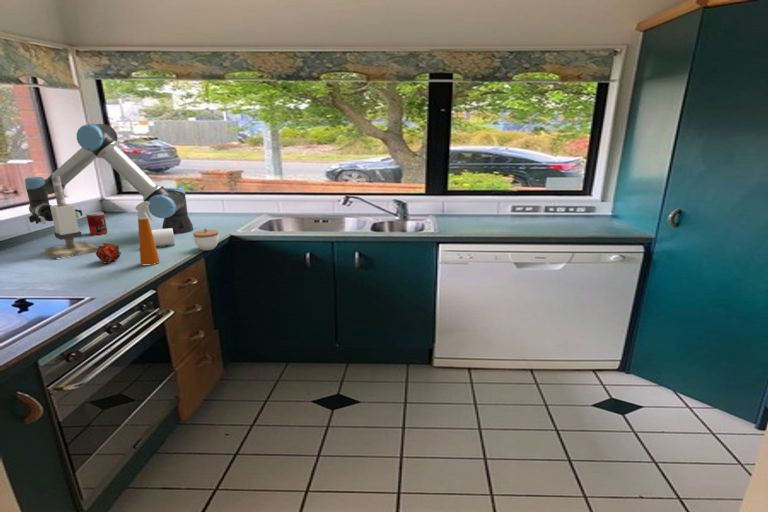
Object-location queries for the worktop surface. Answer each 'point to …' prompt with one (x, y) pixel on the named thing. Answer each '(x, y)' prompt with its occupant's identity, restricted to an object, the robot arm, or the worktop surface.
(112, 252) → the dragon fruit
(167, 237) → the mug
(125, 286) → the worktop surface
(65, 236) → the thin dark grey plate
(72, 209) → the sleeve
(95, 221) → the canned food
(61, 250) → the pipe stand
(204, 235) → the lidded jar
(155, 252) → the spray bottle
